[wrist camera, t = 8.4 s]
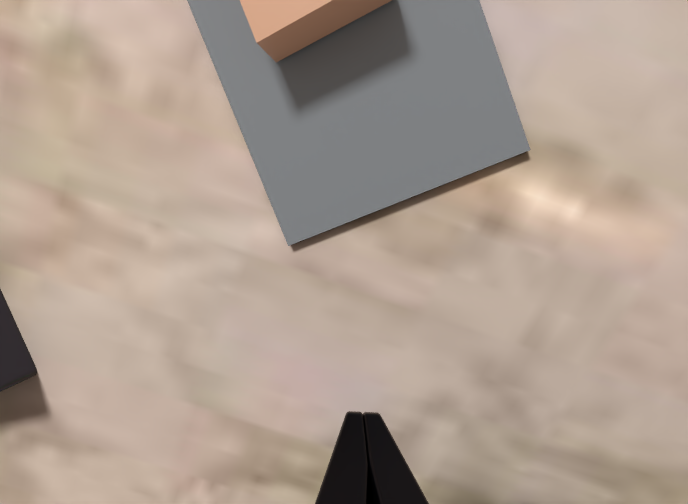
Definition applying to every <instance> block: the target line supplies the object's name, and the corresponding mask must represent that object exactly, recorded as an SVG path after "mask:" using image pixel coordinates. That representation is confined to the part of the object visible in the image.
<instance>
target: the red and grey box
mask: <svg viewBox="0 0 688 504" xmlns="http://www.w3.org/2000/svg"><path fill="white" fill-rule="evenodd" d="M36 373H37V369H36V367H35V364H34V362H33V360H32V358H31V355H30V353H29V351H28V349H27V347H26V344H25V342H24V340H23V338H22V336H21V333H20V331H19V329H18V327H17V325H16V322H15V320H14V318H13V316H12V313H11V311H10V309H9V307H8V305H7V302H6V300H5V298H4V296H3V294H2V291H1V289H0V391H2V390H5V389H7V388H9V387H11V386H13V385H15V384H17V383H19V382H21V381H24V380H26V379H28V378H30V377H32V376H34V375H36Z"/></svg>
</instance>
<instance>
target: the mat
mask: <svg viewBox="0 0 688 504" xmlns="http://www.w3.org/2000/svg"><path fill="white" fill-rule="evenodd" d="M187 1H188V3H189V6H190V8H191V10H192V13H193V15H194V18H195V20H196V23H197V25H198V28H199V30H200V32H201V35H202V37H203V40H204V42H205V45H206V47H207V49H208V52H209V54H210V57H211V59H212V62H213V64H214V66H215V69H216V71H217V74H218V76H219V79H220V81H221V83H222V86H223V88H224V91H225V93H226V96H227V98H228V100H229V103H230V105H231V108H232V110H233V113H234V115H235V117H236V120H237V122H238V125H239V127H240V130H241V132H242V134H243V137H244V139H245V142H246V144H247V147H248V149H249V151H250V154H251V156H252V159H253V161H254V164H255V166H256V168H257V171H258V173H259V176H260V178H261V181H262V183H263V185H264V188H265V190H266V193H267V195H268V198H269V200H270V202H271V205H272V207H273V210H274V212H275V215H276V217H277V219H278V222H279V224H280V227H281V229H282V232H283V234H284V236H285V239H286V241H287V244H288V246H290V245H292V244H295V243H297V242H300V241H302V240H305V239H307V238H310V237H312V236H315V235H317V234H320V233H322V232H325V231H327V230H330V229H332V228H335V227H337V226H340V225H342V224H345V223H347V222H350V221H353V220H355V219H358V218H360V217H363V216H365V215H368V214H370V213H373V212H375V211H378V210H380V209H383V208H385V207H388V206H390V205H393V204H395V203H398V202H400V201H403V200H405V199H408V198H411V197H413V196H416V195H418V194H421V193H423V192H426V191H428V190H431V189H433V188H436V187H438V186H441V185H443V184H446V183H448V182H451V181H453V180H456V179H458V178H461V177H463V176H466V175H468V174H471V173H474V172H476V171H479V170H481V169H484V168H486V167H489V166H491V165H494V164H496V163H499V162H501V161H504V160H506V159H509V158H511V157H514V156H516V155H519V154H521V153H524V152H526V151H529V150H530V147H529V144H528V141H527V139H526V136H525V133H524V130H523V127H522V124H521V121H520V118H519V115H518V112H517V109H516V106H515V103H514V101H513V98H512V95H511V92H510V89H509V86H508V83H507V80H506V77H505V74H504V71H503V68H502V65H501V63H500V60H499V57H498V54H497V51H496V48H495V45H494V42H493V39H492V36H491V33H490V30H489V28H488V25H487V22H486V19H485V16H484V13H483V10H482V7H481V4H480V1H479V0H392V1H390V2H388V3H386V4H384V5H382V6H380V7H379V8H377V9H375V10H373V11H371V12H369V13H367V14H366V15H364V16H362V17H360V18H358V19H356V20H354V21H353V22H351V23H349V24H347V25H345V26H343V27H341V28H340V29H338V30H336V31H334V32H332V33H330V34H328V35H326V36H325V37H323V38H321V39H319V40H317V41H315V42H313V43H312V44H310V45H308V46H306V47H304V48H302V49H300V50H299V51H297V52H295V53H293V54H291V55H289V56H287V57H286V58H284V59H282V60H280V61H278V62H275V61H274V60H273V59H272V58H271V57H270V56H269V55H268V54H267V53H266V52H265V51H264V50H263V49H262V48H261V47H260V46H259V45H258V44H257V43H256V40H255V37H254V35H253V32H252V30H251V27H250V25H249V22H248V20H247V17H246V15H245V12H244V10H243V7H242V5H241V2H240V0H187Z"/></svg>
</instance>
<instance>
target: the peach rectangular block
mask: <svg viewBox="0 0 688 504" xmlns="http://www.w3.org/2000/svg"><path fill="white" fill-rule="evenodd" d="M390 1H392V0H240V2H241V5H242V7H243V10H244V12H245V15H246V17H247V20H248V22H249V25H250V27H251V30H252V32H253V35H254V37H255V40H256V43H257V44H258V45H259V46H260V47H261V48H262V49H263V50H264V51H265V52H266V53H267V54H268V55H269V56H270V57H271V58H272V59H273V60H274V61H275V62H278V61H280V60H282V59H284V58H286V57H287V56H289V55H291V54H293V53H295V52H297V51H299V50H300V49H302V48H304V47H306V46H308V45H310V44H312V43H313V42H315V41H317V40H319V39H321V38H323V37H325V36H326V35H328V34H330V33H332V32H334V31H336V30H338V29H340V28H341V27H343V26H345V25H347V24H349V23H351V22H353V21H354V20H356V19H358V18H360V17H362V16H364V15H366V14H367V13H369V12H371V11H373V10H375V9H377V8H379V7H380V6H382V5H384V4H386V3H388V2H390Z"/></svg>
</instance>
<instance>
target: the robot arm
mask: <svg viewBox="0 0 688 504" xmlns="http://www.w3.org/2000/svg"><path fill="white" fill-rule="evenodd" d="M315 504H429V503H428V501H427V500H426V498H425V496H424V494H423V492H422V490H421V489H420V487H419V485H418V483H417V481H416V479H415V478H414V476H413V474H412V472H411V470H410V468H409V467H408V465H407V463H406V461H405V459H404V457H403V456H402V454H401V452H400V450H399V448H398V446H397V445H396V443H395V441H394V439H393V437H392V435H391V434H390V432H389V430H388V428H387V426H386V424H385V423H384V421H383V419H382V417H381V416H380V414H379V413H373V412H365V413H363V414H362V413H361V412H350V411H349V412H347V413H346V416H345V418H344V421H343V424H342V427H341V430H340V433H339V436H338V439H337V442H336V445H335V447H334V450H333V453H332V456H331V459H330V462H329V465H328V468H327V471H326V473H325V476H324V479H323V482H322V485H321V488H320V491H319V494H318V497H317V500H316V502H315Z"/></svg>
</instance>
